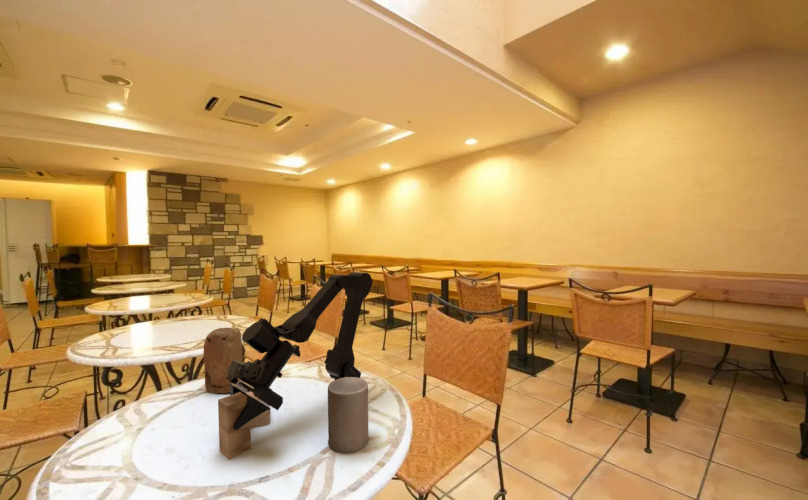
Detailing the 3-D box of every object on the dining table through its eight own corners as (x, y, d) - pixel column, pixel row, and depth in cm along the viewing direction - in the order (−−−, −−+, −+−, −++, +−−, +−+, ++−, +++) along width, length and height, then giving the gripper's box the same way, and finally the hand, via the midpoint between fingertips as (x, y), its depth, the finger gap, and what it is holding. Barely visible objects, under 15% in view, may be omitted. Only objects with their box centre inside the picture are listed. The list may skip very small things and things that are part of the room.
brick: (271, 425, 89) (270, 407, 89) (235, 433, 86) (235, 414, 86) (268, 400, 104) (267, 384, 104) (237, 405, 101) (237, 390, 101)
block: (245, 385, 114) (244, 326, 114) (232, 395, 107) (230, 332, 107) (215, 384, 115) (213, 326, 115) (200, 394, 108) (198, 332, 108)
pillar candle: (319, 444, 79) (318, 382, 79) (348, 425, 87) (347, 368, 87) (349, 459, 74) (348, 392, 74) (377, 437, 82) (376, 376, 82)
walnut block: (241, 441, 81) (240, 392, 81) (251, 448, 78) (249, 397, 78) (219, 450, 78) (218, 399, 77) (228, 459, 74) (227, 406, 74)
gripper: (233, 339, 87) (185, 397, 78) (268, 353, 74) (216, 423, 66) (263, 361, 93) (222, 416, 85) (301, 377, 81) (257, 444, 72)
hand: (228, 424), depth 77 cm, fingers open, 6 cm apart
